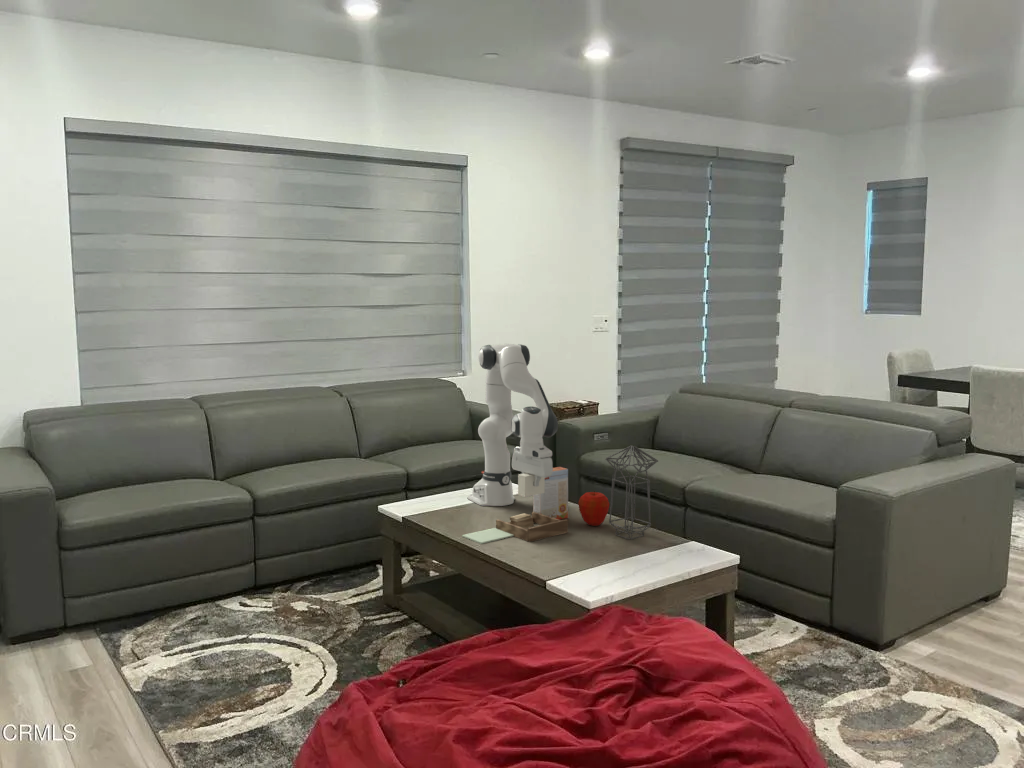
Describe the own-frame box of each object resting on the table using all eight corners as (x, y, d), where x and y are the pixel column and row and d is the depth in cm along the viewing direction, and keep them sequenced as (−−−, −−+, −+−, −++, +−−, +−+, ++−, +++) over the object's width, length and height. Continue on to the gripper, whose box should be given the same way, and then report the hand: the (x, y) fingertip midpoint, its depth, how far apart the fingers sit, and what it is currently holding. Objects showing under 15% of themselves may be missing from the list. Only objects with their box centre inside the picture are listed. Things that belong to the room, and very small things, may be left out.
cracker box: (560, 515, 359) (560, 466, 357) (568, 518, 354) (569, 468, 352) (532, 520, 352) (532, 469, 349) (540, 523, 347) (540, 472, 344)
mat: (462, 536, 329) (462, 535, 329) (495, 529, 339) (495, 527, 339) (481, 544, 319) (481, 542, 319) (514, 536, 329) (514, 534, 329)
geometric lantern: (601, 533, 333) (602, 444, 329) (631, 527, 342) (633, 440, 338) (629, 544, 320) (631, 451, 316) (659, 536, 329) (661, 446, 325)
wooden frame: (496, 529, 338) (496, 517, 337) (533, 521, 350) (533, 509, 349) (529, 541, 322) (529, 528, 322) (567, 532, 334) (567, 519, 334)
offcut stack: (508, 529, 339) (508, 517, 338) (526, 524, 346) (526, 512, 345) (515, 531, 336) (516, 519, 335) (533, 526, 343) (533, 514, 342)
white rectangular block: (518, 495, 330) (518, 474, 329) (537, 491, 337) (537, 471, 336) (524, 497, 327) (525, 476, 326) (544, 493, 334) (544, 472, 333)
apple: (572, 524, 346) (572, 490, 344) (592, 519, 354) (592, 485, 352) (594, 531, 336) (595, 496, 335) (615, 525, 344) (615, 491, 343)
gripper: (508, 446, 336) (507, 481, 337) (543, 454, 320) (542, 491, 322) (520, 444, 340) (520, 478, 341) (555, 452, 324) (555, 488, 326)
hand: (531, 484), depth 332 cm, fingers closed on white rectangular block, 4 cm apart
